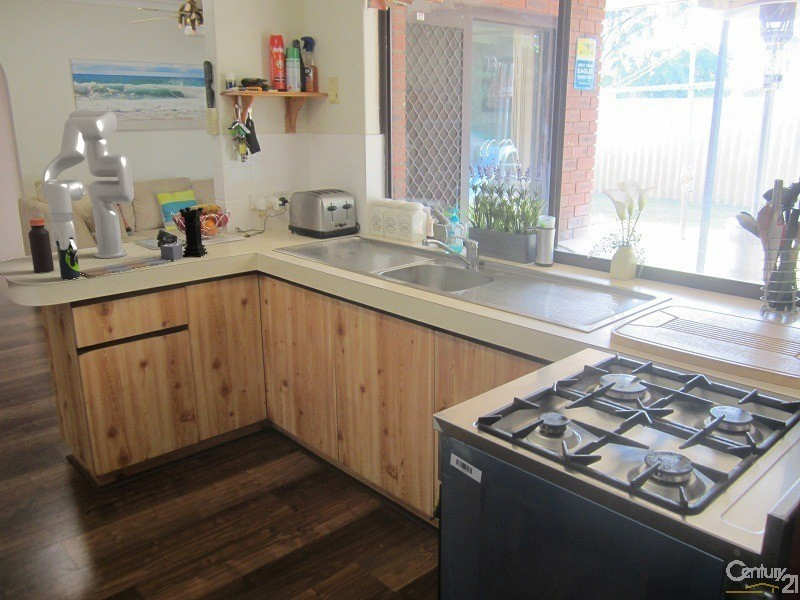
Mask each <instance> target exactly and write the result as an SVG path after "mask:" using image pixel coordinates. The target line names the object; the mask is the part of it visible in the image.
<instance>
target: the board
mask: <svg viewBox="0 0 800 600" xmlns="http://www.w3.org/2000/svg"><path fill="white" fill-rule="evenodd" d="M168 262H170V261H168V260H163V259H162V258H159V257H150V258H144V259H139V260H132V261H126V262H122V263H121V262H120V263H116V264H112V265H111V264H110V265H105V266H99V267H98V266H97V267H94V268H88V269H82V270H79V271H80V273H81V274H84V275H87V276H90V277H92V278H97V277H96V276H98V277H101V276H100V275H103V276H105V275H104V274H108V275H111V274H110V273H114V274H116V273H115V272H119V273H121V272H120V271H124V272H128V271H127V270H129V271H132V270H131V269H135V268H140V269H142V268H141V267H145V268H147V267H146V266H151V267H154V266H153V265H156V266H160V265H159V264H161V265H165V264H164V263H167V264H169V263H168ZM135 270H136V269H135ZM84 275H83V276H84ZM87 276H86V277H87ZM90 277H89V278H90Z"/></svg>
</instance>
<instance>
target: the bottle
mask: <svg viewBox="0 0 800 600" xmlns="http://www.w3.org/2000/svg"><path fill="white" fill-rule="evenodd" d="M28 221H29V227H31V229H30V230H29V231H28V233H27V234H28V235H27V236H28V240H29V246H30V247H29V248H30V253H31V258H32V259H31V260H32V265H33V266H32V267H33V272H34V273H36V272H47V273H50V272H49V271H51V272H53V271H55V266H54V264H55V263H54V258H53V252H52V245H51V244H52V243H51V240H50V231H48V230H47V229H46V228H45V226H46V223H45V218H41V217H38V218H37V217H36V218H35V217H34V218H30V219H29V220H28Z"/></svg>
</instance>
